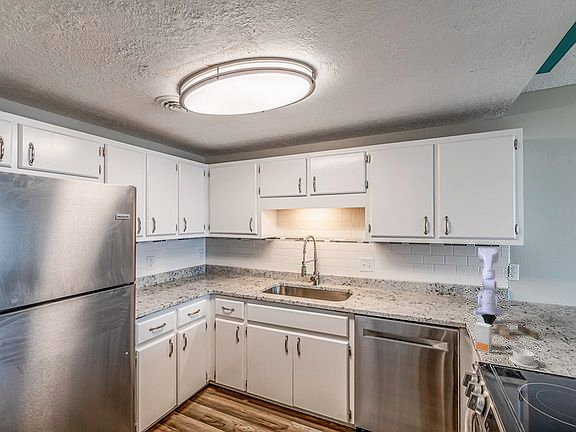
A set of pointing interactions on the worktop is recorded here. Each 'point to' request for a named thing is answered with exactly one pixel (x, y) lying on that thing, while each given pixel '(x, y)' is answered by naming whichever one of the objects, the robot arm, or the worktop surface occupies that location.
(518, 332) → the box
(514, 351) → the teacup
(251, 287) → the worktop surface
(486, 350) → the skincare box
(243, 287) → the worktop surface
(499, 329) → the birch block
